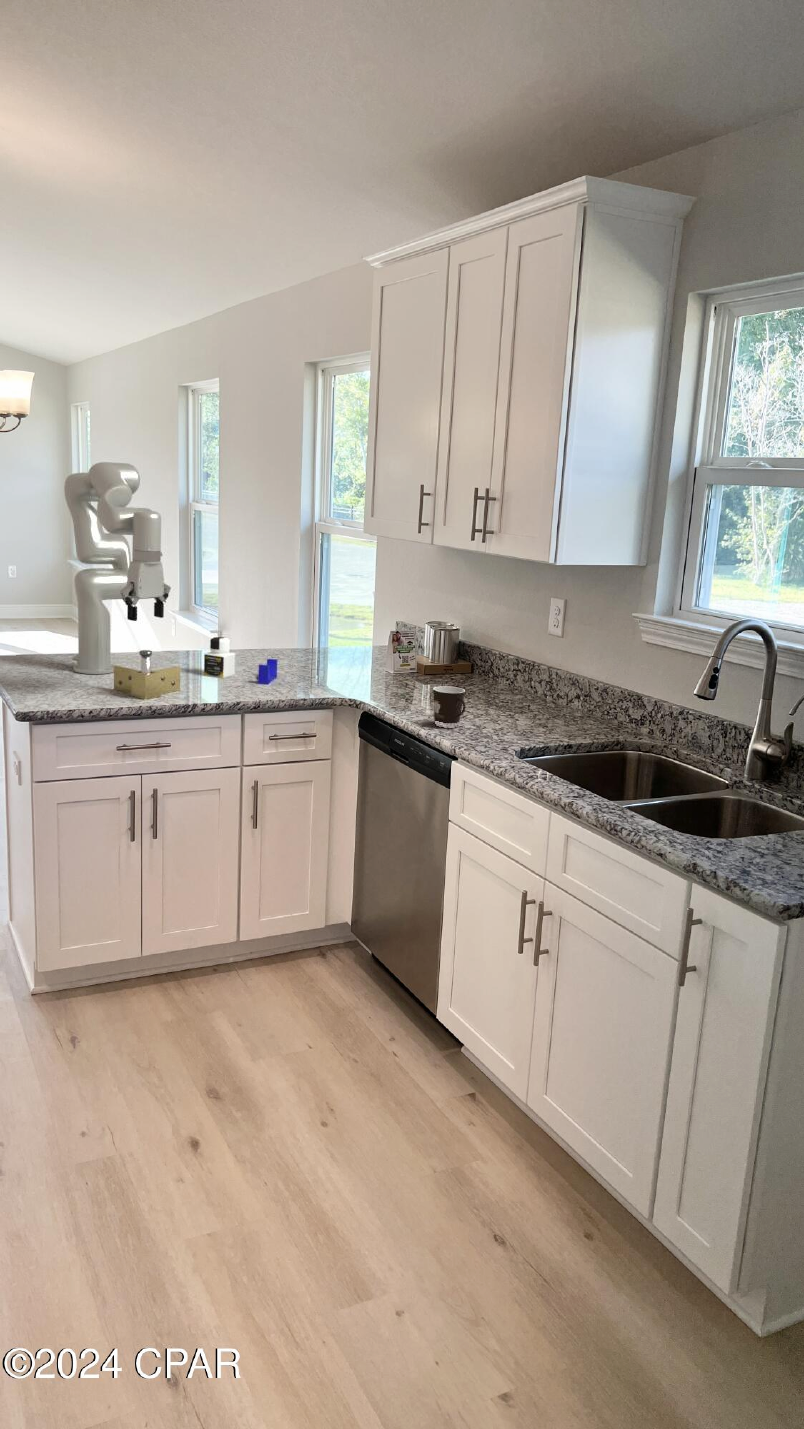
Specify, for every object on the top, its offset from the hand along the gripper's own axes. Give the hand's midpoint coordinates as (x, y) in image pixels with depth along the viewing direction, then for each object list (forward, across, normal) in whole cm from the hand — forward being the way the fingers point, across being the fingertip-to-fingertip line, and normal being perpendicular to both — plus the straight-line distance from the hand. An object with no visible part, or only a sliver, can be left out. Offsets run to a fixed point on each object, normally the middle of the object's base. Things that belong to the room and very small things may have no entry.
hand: (145, 618), depth 287 cm
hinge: (+22, -5, -4) cm, 23 cm away
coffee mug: (+21, -35, +79) cm, 89 cm away
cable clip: (+23, -43, +7) cm, 49 cm away
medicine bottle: (+23, -38, -7) cm, 45 cm away
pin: (+22, 0, +1) cm, 22 cm away
